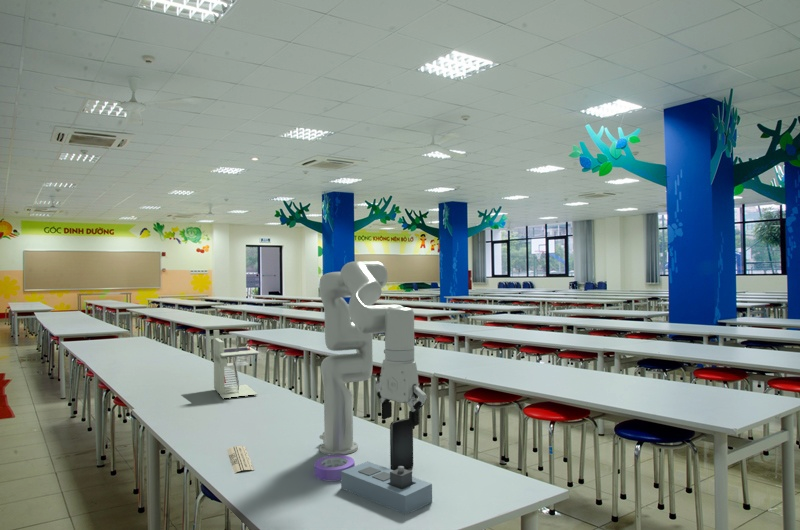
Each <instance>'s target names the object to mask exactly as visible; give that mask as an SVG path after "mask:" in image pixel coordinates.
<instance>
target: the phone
mask: <svg viewBox="0 0 800 530" xmlns="http://www.w3.org/2000/svg"><path fill="white" fill-rule="evenodd" d="M389 451H390V452H389V453H390V455H389V456H390V457H389V460H390V461H389V462H390V463H389V464H390V466H389V467H390V468H389V469H391V470H396V469H398V466H404V469H406V470H411V469H413V467H414V427H409V417H406V418H403V419H399V420H394V421H391V423H389Z"/></svg>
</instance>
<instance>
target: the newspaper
mask: <svg viewBox="0 0 800 530" xmlns="http://www.w3.org/2000/svg"><path fill="white" fill-rule="evenodd" d="M226 451H227V455H228V458H229V461H230V464H231V467H232V469H233V472H234V474H236V473H239V472H243V471H255V468H254V466H253V464H252V460H251V458H250V456H249V453H248V450H247V447H246V446H245V445H236V446H231V447H229V448H227V449H226Z"/></svg>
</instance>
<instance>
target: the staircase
mask: <svg viewBox="0 0 800 530" xmlns="http://www.w3.org/2000/svg"><path fill="white" fill-rule="evenodd" d="M252 344H253V341H252V340H249V345H248V346H239V345H240V343H239V342H237V344H236V347H225V341H224V340H222V339H221V338H220V330H219V329H213V389H214V390H215V392H217V394H218V393H219V394H220V395H219V394H218V395H219V396H220V397H221V398H222V400H225V399H224V398H229V399H232V398H231V397H237V398H239V397H238V396H245V397H249V396H248V395H254V396H258V395H259V394H258V393H257V392H256V391H255V390H254V389H253V388H251V387H250V386H249V385H248V384H240V382H239V381H240V380H239V375H238V374H239V373H238V369H237V367H243V366H247V367H248V366H249V365H250V361H251V357H252V356H256V355H259V354H261V352H260V351H258V350H256V349H254V348H253V347H251V345H252ZM231 357H232V358H233V362H228V359H227V358H231Z"/></svg>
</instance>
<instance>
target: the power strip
mask: <svg viewBox="0 0 800 530" xmlns="http://www.w3.org/2000/svg"><path fill="white" fill-rule="evenodd" d="M391 471H394V470H391V469H390V468H388V467H386V466H385V467H384V466H382V465H379V464H377V463H373V462H371V461H365V462H363V463H360V464H357V465H355V466H354V467H351V468H349V469H346V470H343V471H341V480H340V483H341V484H340V488H341V489H343V490H345V491H347V492H350V493H351V494H355V495H357V496H359V497H362V498H364V499H366V500H369V501H371V502H373V503H376V504H378V505H381V506H383V507H386V508H388V509H391V510H393V511H395V512H397V513H400V514H403V515H404V516H405V515H409V514H410V513H412V512H415V511H416V510H419V509H420V508H422V507H425V506H427V505H429V504H431V503H433V483H431V482H429V481H426V480H424V479H423V480H422V479H419V478H416V477H414V476H412V485H411V486H409V487H407V488H404V489H399V488H397V487H394V486H391V485H390V472H391Z"/></svg>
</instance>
